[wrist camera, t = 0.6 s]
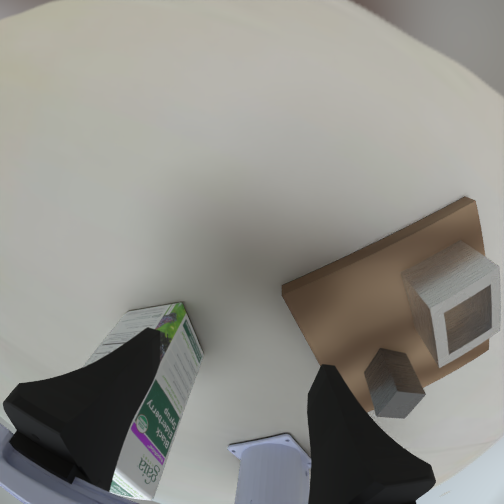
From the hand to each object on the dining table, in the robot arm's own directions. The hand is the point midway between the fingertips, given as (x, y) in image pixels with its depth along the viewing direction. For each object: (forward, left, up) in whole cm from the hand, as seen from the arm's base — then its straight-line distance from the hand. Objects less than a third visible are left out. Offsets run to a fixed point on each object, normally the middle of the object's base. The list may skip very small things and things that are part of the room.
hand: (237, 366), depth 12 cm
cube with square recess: (-7, -12, -8) cm, 16 cm away
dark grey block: (-12, -6, -8) cm, 16 cm away
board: (-10, -9, -10) cm, 17 cm away
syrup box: (-2, +10, -10) cm, 14 cm away
